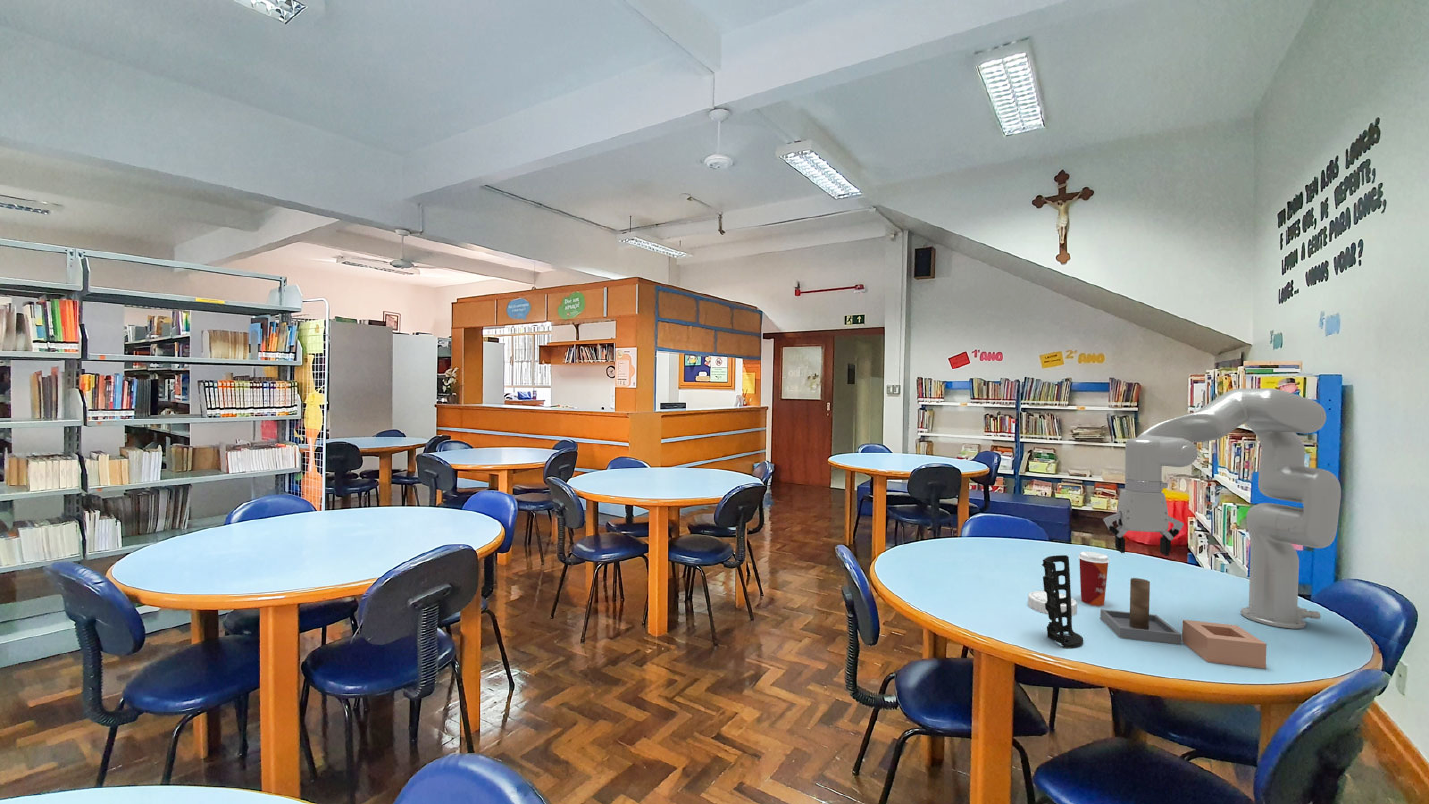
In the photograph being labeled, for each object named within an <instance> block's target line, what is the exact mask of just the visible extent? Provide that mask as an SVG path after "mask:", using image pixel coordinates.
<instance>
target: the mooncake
mask: <svg viewBox="0 0 1429 804" xmlns="http://www.w3.org/2000/svg"><path fill="white" fill-rule="evenodd" d="M1059 597H1060V598H1065V597H1066V594H1064V593H1060V592H1059ZM1054 599H1055V598H1054ZM1045 603H1047V593H1046V592H1045V591H1044V590H1039V591H1036V590H1035V591H1031V592H1030V593H1028V596H1027V604H1028V605H1027V606H1028V607H1029V608H1031V609H1033V610H1034V611H1036V612H1039V613H1042V614H1047V615H1048V611H1047V610H1046V609H1045ZM1071 610H1072V616H1076V614H1077V613H1078V602H1077V601H1076V600H1075V599H1074V598H1073V597H1071ZM1065 611H1066V604H1061V612H1065Z"/></svg>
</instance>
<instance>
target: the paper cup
mask: <svg viewBox="0 0 1429 804" xmlns="http://www.w3.org/2000/svg"><path fill="white" fill-rule="evenodd" d="M1077 558H1078V561H1079V578H1080V579H1079V582H1080V599H1081V602H1082V603H1083V604H1086V605H1091V606H1095V607H1099V606H1104V605H1105V600H1106V599H1105V598H1106V590H1107V582H1108V581H1107V579H1108V568H1109V563H1110V560H1109V557H1108V555H1106V554H1103V553H1099V552H1094V551H1082V552H1080V553H1079V555H1078V557H1077Z"/></svg>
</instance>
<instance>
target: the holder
mask: <svg viewBox="0 0 1429 804" xmlns="http://www.w3.org/2000/svg"><path fill="white" fill-rule="evenodd" d="M1069 557H1070V556H1069V555H1067V554H1066V555H1064V554H1063V555H1062V554H1059V555H1051V556H1050V555H1049V556H1047V557H1045V558H1043V559H1042V564H1041V566H1042V567H1043V568H1044V569H1043V570H1044V575H1043V576H1042V582H1043V583H1042V584H1043V591H1045V592H1046V593H1047V603H1045V609H1046V610H1047V611H1048V614H1047V615H1048V619H1049V620H1050V621H1049V622H1048V624H1047V625H1046V634H1047V638H1049V639H1052V640H1054V641H1055V642H1056V643H1059V644H1061V646H1063V648H1065V649H1071V648H1074V647H1078V646H1081V645H1082V644H1084V638H1083V636H1082V635H1080V634H1079V633H1077V632H1075V631H1074V630H1073V619H1072V618H1073V615H1072V610H1071V598H1072V593H1071V588H1072V587H1071V571H1070V569H1071V568H1070V558H1069ZM1060 562H1061V563H1062V564H1063V567H1064V568H1063V569H1062V570H1057V569H1056V568H1057V567H1056V563H1060ZM1060 576H1061V577H1064V583H1061V584H1060V578H1059V577H1060ZM1061 590H1062V591H1065V595H1066V597H1065V598H1060V597H1059V593H1060V591H1061ZM1054 598H1055V599H1054ZM1061 604H1066V611H1065V612H1061ZM1063 618H1065V619H1066V624H1065V625H1064V624H1063ZM1057 620H1058V621H1057ZM1064 633H1068V635H1067V634H1064Z"/></svg>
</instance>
